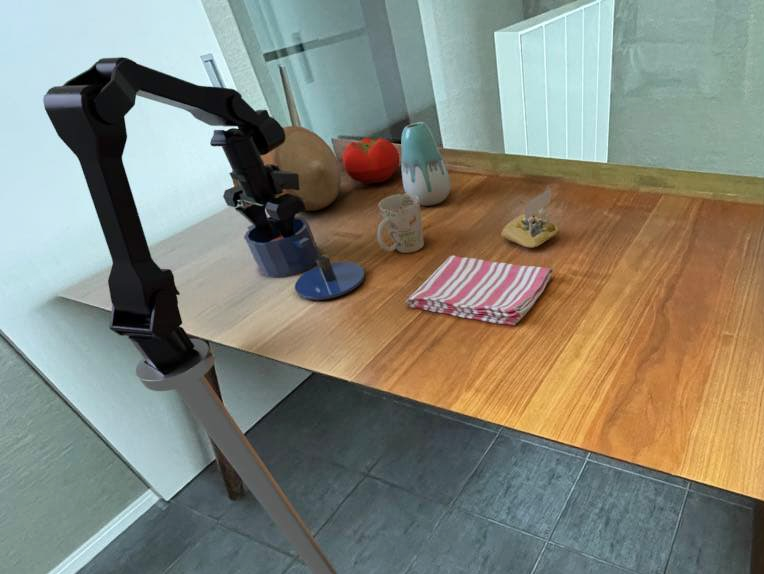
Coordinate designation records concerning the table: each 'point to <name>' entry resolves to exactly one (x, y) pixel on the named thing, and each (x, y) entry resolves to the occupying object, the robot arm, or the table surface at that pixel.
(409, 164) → the vase
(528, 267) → the dish towel
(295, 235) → the pot
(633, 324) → the table surface
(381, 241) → the mug
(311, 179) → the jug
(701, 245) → the table surface
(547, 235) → the tan figurine base
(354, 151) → the tomato
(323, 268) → the pot lid
